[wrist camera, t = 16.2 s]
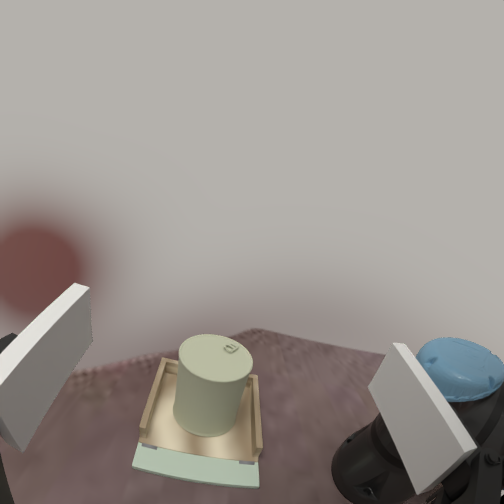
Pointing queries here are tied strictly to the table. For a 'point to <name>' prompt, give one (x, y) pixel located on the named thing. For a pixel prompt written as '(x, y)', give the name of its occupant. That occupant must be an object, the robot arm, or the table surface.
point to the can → (210, 384)
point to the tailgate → (196, 467)
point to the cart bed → (178, 439)
